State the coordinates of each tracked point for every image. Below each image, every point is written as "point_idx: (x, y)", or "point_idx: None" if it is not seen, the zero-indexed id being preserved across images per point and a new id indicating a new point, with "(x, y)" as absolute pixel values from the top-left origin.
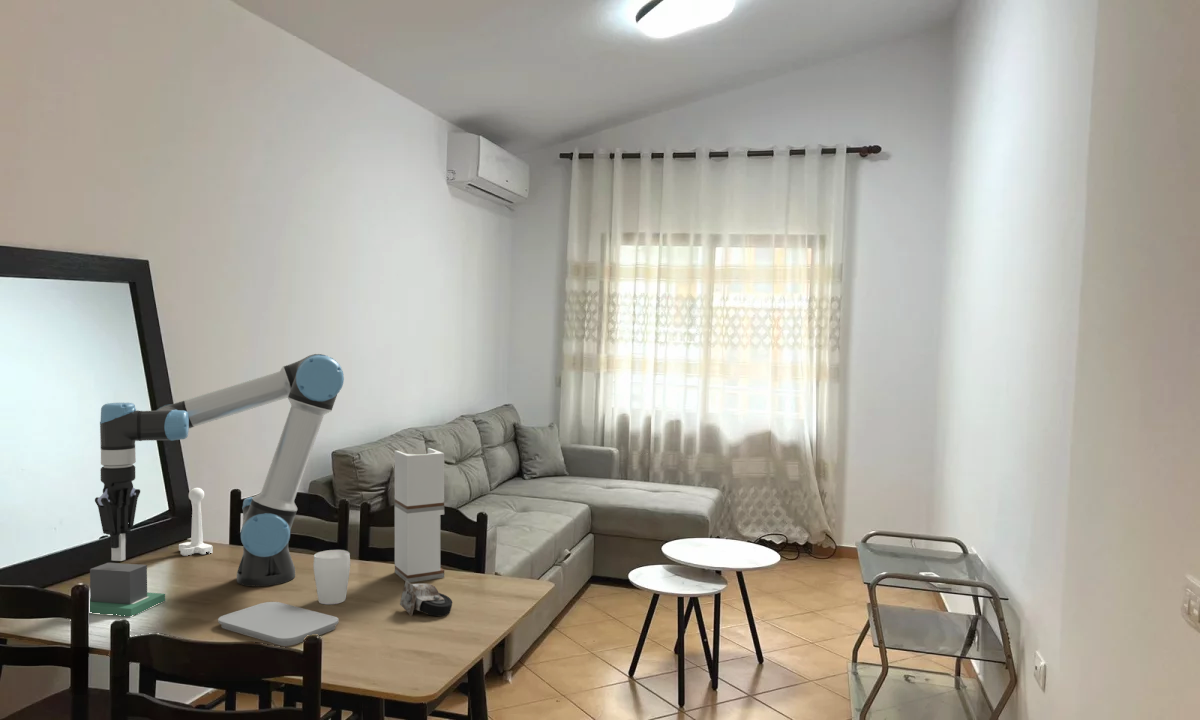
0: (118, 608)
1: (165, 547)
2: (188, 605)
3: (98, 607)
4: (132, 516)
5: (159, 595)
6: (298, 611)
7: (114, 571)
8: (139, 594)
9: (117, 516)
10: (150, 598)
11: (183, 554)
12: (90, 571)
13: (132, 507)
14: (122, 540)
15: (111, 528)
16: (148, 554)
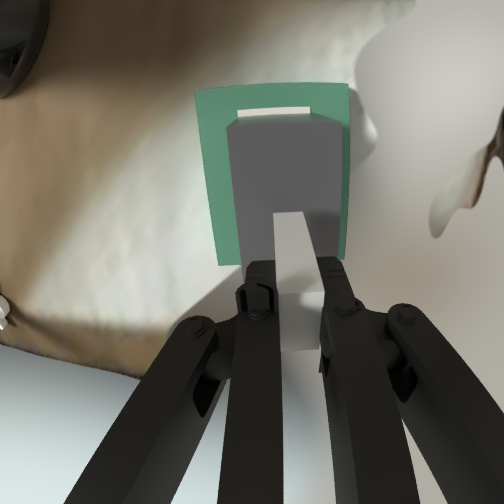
0: (349, 124)
1: (16, 346)
2: (210, 9)
3: (348, 187)
4: (163, 396)
5: (215, 92)
6: None
7: (340, 195)
8: (274, 115)
9: (394, 429)
10: (248, 96)
11: (7, 304)
12: None
13: (137, 479)
14: (304, 266)
15: (438, 334)
16: (39, 350)
